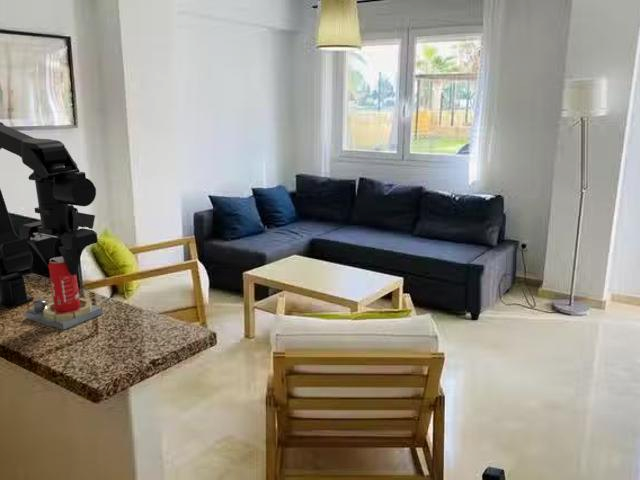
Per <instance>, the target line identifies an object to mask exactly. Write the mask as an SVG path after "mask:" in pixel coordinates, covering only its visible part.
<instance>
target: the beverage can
mask: <svg viewBox="0 0 640 480" xmlns="http://www.w3.org/2000/svg"><path fill="white" fill-rule="evenodd" d="M48 265H49V268H48V270H49V271H48V272H49V277H50V285H51V293H52V298H53V302H54V307H55V310H56V311H57V313H62V312H72V311H75V310H78V309H79V306H80V299H79V298H80V293H79V285H78V277H77V274H76V275H73V276H72V275H71V274H70V272H69V270H68V268H67V266H66V264H65V261H64V259H63V257H62V255H60V256H55V258H52V259H50V260H49V264H48Z"/></svg>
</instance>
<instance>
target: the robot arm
mask: <svg viewBox="0 0 640 480" xmlns="http://www.w3.org/2000/svg"><path fill="white" fill-rule="evenodd" d="M2 149H4V150H5V151H8V152H10V153H12V154H14V155H16V156H18V157H20V158H21V161H22V164H23V165H25V166H26V167H27V168H29V169H30V170H31V171H33V172H32V173H31V174H29V176H28V180H29V181H34V182H35V190H36V197H37V204H38V207H34V213H36V214H39V217H40V220H39V221H33V222H29V223H25V224H22V225H21V226H20V228H19V229H18V231H19V235H18V234H17V233H16V230H15V229H14V226H13V222H12V220H11V216H10V213H9V211H8V207H7V205H6V202H5V199H4V195H3V192H2V190H1V188H0V307H3V308H6V309H10V308H14V307H16V306H19V305H23V304H25V303H28V302H30V301H33V300H34V297H32V296H29V295H28V293H27V289H26V284H25V278H24V276H27V275H31V274H32V271H33V261H34V257H33V256H34V255H33V252H32V250H31V248H30V246H31V247H32V249H34V251H35V252H36V254H37V255H38V256H39V257H40V259H41V260H42V262H43V263H44V264H45V266H46V267H47V269H49V265H48V264H49V260H50V259H52V258H55V257H56V252H55V251H56V250H55V249H56V247H55V244H56V243H57V241H58V240H61V241H60V242H61V244H62V246H59V247H58V249H59V253H61V255H60V256H62V257H63V259H64V261H65V264H66V266H67V268H68V270H69V272H70V274H71V275H72V276H73V275H76V276H77V272H78V269H79V266H80V260H81V256H82V253H83V251H84V250H85V249H86V248H87V247H89V246H90V245H94V244H97V243H98V242H99V241H98V233H97V232H96V231H95V230H93V229H94V226H95V225H94V223H95V218H96V215H95V214H91V213H84V212H79V210H78V208H77V207H75V206H78V207H87V206H90V205H91V204H93V202H94V200H95V198H96V196H97V189H96V186H95V185H94V183H93V181H92V180H91V179H89V178H87V176H86V175H87V174H86V172H85V171H80V169H79V168H78V164H77V162H75V160H74V159H73V157H72V156H71V154H70V152H69V151H68V149H67V148H66V146H65V144H64V143H63V142H62V141H60V140H57V139H52V138H36V137H33V136H31V135H29V134H26V133H24V132H21V131H18V130H17V129H15V128H11V127H9V126H7V125H6V124H4V123H3V122H0V150H2ZM79 227H80V228H79Z"/></svg>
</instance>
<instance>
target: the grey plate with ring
mask: <svg viewBox="0 0 640 480" xmlns="http://www.w3.org/2000/svg"><path fill="white" fill-rule="evenodd" d="M79 299H80V306H79V309H78V310H75V311H72V312H62V313H57V311H56V310H55V307H54V301H51V302H49V303H48V302H47V299H43V298H41V299H37V300H34V301H33V309H30V310H27V311H25V316H26V317H25V318H26V319H28V320H31V321H34V322H37V323H40V324H44V325H47V326H51V327H54V328H57V329H59V330H62V329H63V330H62V331H65V330H67V328H68V329H70V328H72V327H75V326H77V325H80V324H82V323H85V322H87V321H89V320H91V319H94V318H97V317H99V316H102V315H103V314H104V310H103V307H101V306H98V305H94V304H93V302H92V300H90V299H87V298H83V297H79ZM84 321H85V322H84ZM81 322H82V323H81ZM79 323H80V324H79ZM74 325H75V326H74ZM69 327H70V328H69ZM64 329H65V330H64Z"/></svg>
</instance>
